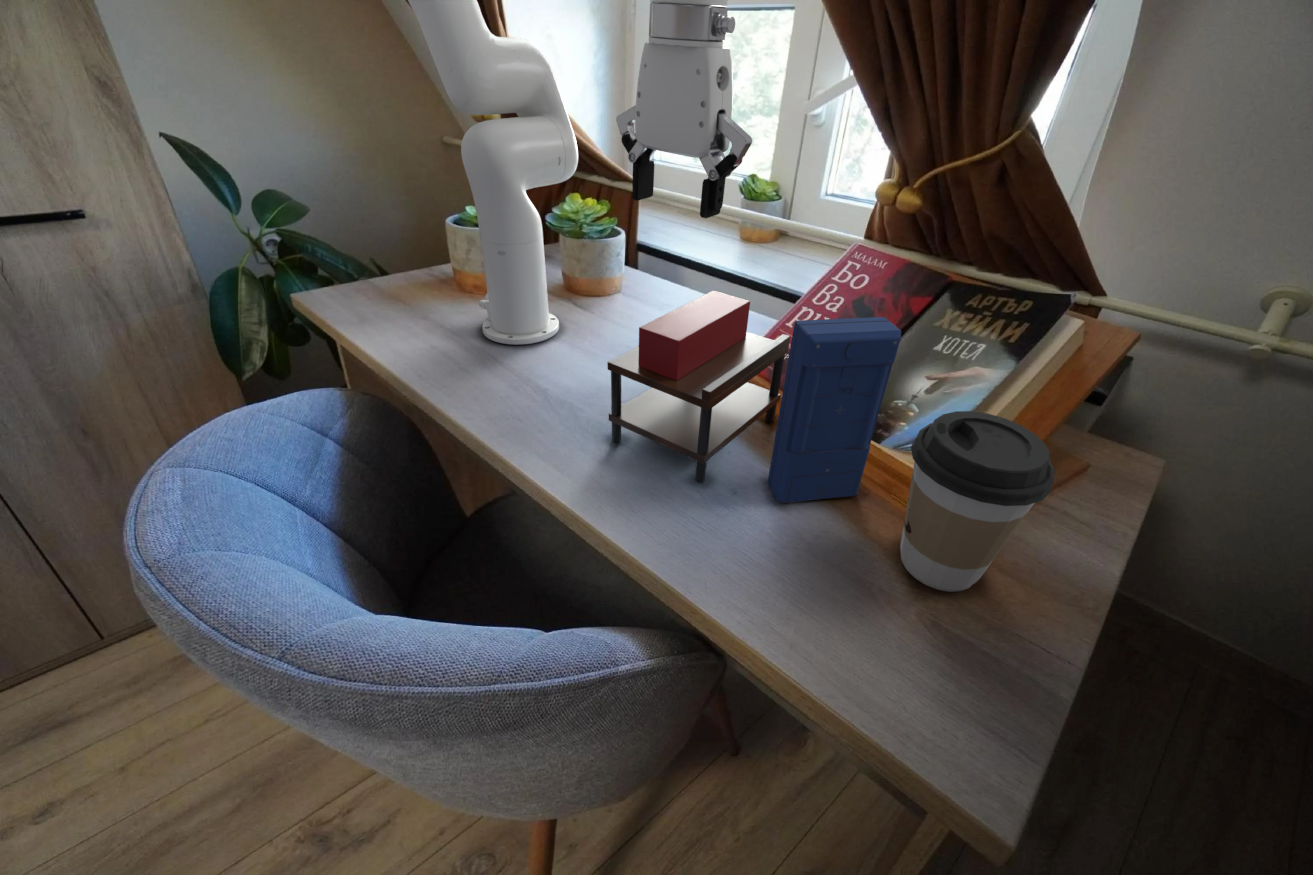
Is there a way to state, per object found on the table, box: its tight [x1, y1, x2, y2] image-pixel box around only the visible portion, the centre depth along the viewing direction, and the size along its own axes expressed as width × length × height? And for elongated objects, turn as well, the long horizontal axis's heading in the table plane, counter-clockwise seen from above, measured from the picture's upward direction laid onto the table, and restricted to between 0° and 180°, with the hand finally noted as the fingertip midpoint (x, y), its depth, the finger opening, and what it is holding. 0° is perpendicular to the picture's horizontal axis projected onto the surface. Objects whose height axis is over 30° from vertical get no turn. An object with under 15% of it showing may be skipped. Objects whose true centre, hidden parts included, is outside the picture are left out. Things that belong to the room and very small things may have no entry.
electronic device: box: [767, 316, 902, 503], centre depth 63 cm, size 10×5×20 cm, turn 100°
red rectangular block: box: [638, 290, 751, 381], centre depth 71 cm, size 5×15×5 cm, turn 143°
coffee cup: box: [899, 410, 1056, 593], centre depth 55 cm, size 11×11×15 cm
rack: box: [607, 331, 791, 484], centre depth 75 cm, size 14×18×12 cm
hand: (675, 206), depth 70 cm, fingers open, 9 cm apart
